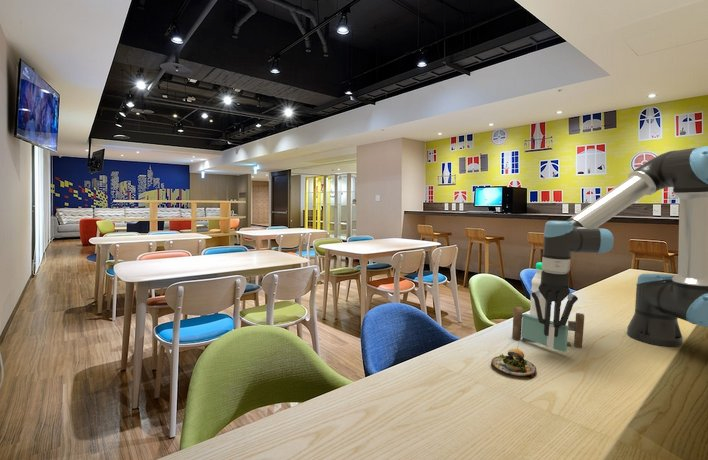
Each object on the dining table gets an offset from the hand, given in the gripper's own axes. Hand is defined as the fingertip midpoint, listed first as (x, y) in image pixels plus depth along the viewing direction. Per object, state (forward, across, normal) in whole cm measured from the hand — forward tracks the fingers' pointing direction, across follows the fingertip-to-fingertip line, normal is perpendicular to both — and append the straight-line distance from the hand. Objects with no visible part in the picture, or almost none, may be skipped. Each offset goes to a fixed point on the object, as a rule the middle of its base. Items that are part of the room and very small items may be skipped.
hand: (549, 345), depth 114 cm
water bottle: (+3, 0, +25) cm, 25 cm away
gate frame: (+3, +1, +12) cm, 12 cm away
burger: (+4, -11, -14) cm, 19 cm away
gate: (+2, -1, +5) cm, 6 cm away
